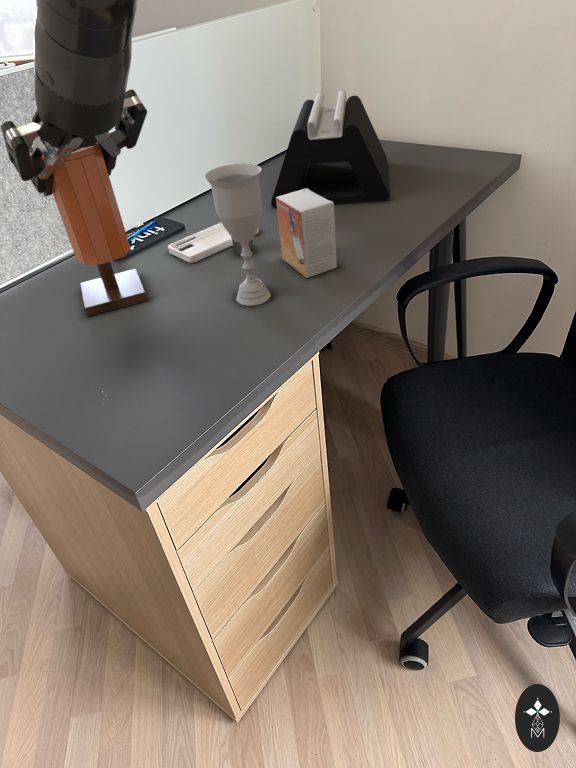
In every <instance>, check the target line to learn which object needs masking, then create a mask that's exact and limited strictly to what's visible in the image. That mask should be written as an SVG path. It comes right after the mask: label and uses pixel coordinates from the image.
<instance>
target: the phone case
mask: <svg viewBox="0 0 576 768" xmlns="http://www.w3.org/2000/svg"><path fill="white" fill-rule="evenodd" d="M259 233H260V228H259V227H258V228H257V231H256V234H255V236H256V235H257V234H259ZM193 238H194V239H193ZM187 240H188V241H187ZM181 243H182V244H181ZM190 245H191V247H189V248H186V247H188V246H190ZM229 247H232V244H231V240H230V236H229V233H228V232H227V230H226V229H225V228H224V226H223V224H222V223H221V222H219V223H216V224H214V225H212V226H210V227H207V228H205V229H203V230H200V231H198V232H195V233H193V234H191V235H188V236H186V237H183V238H181V239H180V240H177V241H175V242H172V243H170V244H168V245H167V249H168V252H169V254H170V255H172V256H175V257H177V258H179V259H180V260H183V261H185V262H187V263H190V264H194V263H197V262H199V261H201V260H203V259H205V258H208V257H211V256H212V255H214V254H217V253H219V252H221V251H223V250H225V249H227V248H229ZM183 248H186V249H184V250H182V251H181V249H183Z"/></svg>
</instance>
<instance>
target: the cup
mask: <svg viewBox="0 0 576 768" xmlns="http://www.w3.org/2000/svg"><path fill="white" fill-rule="evenodd" d="M55 149H56V150H58V149H57V148H55ZM42 159H43V160H44V162H45V157H44V155H43V156H42ZM51 175H52V176H53V178H52V197H53V200H54V202H55V204H56V207H57V210H58V212H59V213H58V214H59V215H60V218H61V221H62V223H63V226H64V230H65V232H66V234H67V238H68V240H69V242H70V245H71V248H72V251H73V254H74V256H75V259H76V262H77V263H80V264H82V265H85V266H95V265H96V266H97V265H99V264H103V263H107V262H110V263H112V262H115V261H116V260H118V259H121V258H123V257H124V256H126V255H127V254H128V252H130V250H131V246H130V242H129V237H128V236H127V232H126V229H125V224H124V222H123V219H122V218H123V217H122V215H121V212H120V211H121V210H120V208H119V205H118V201H117V199H116V198H117V197H116V195H115V191H114V189H113V185H112V181H111V179H110V176H109V175H108V171H107V168H106V164H105V161H104V158H103V154H102V151H101V148H100V145H99V142H97V143H96V145H95V146H91V147H86V148H81V149H79V150H77V151H74V152H72V153H71V154H70V156H69V157H68V159H67V160H66V162H65V163H64V164H63V166H56V168H55V169H54V171H53V172H52V174H51Z"/></svg>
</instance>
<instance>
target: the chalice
mask: <svg viewBox="0 0 576 768" xmlns="http://www.w3.org/2000/svg"><path fill="white" fill-rule="evenodd" d="M262 169H263V168H261V166H260V165H257V164H255V163H254V164H253V163H232V164H225V165H221V166H218V167H215V168H213V169H210V170H209V171H207V172H206V173H205V175H204V177H205V179H206V181H207V182H208V183H209V185H210V186H211V187H210V188H211V192H212V197H213V202H214V208H215V212H216V215H217V217H218V219H219V220H220V223H222V224H223V226H224V228H225V229H226V230H227V232H228V233H229V234H230V236H231V237H232V238H233V240H234V241H236V242H240V243H241V245H242V253H241V256H240V257H242V259H243V260H244V262H243V265H242V269H243V270H244V271H245V273H246V278H245V279H244V280H243V281H242V282H241V283H240V284H239V286H238V291H237V296H236V298H235V299H236V302H237V303H238V304H240V305H242V306H259V305H261V304H264V303H265V302H267V301H268V300H269V299H270V298H271V296H272V294H271V292H270V291H269V289H268V287H267V285H266V284H265V282H264V281H263V280H261V279H260V278H257V277H256V276H255V275H254V268H255V267H256V265H255V263H253V262H252V256H253V252H251V251H250V249H249V241H250V240H254V239H255V237H256V235H257V234H256V231H257V228H259V224H260V222H261V217H262V212H263V200H262V199H263V198H262V193H261V186H260V179H259V178H260V176H261V173H262ZM255 234H256V235H255Z"/></svg>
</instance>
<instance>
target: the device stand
mask: <svg viewBox="0 0 576 768" xmlns="http://www.w3.org/2000/svg"><path fill="white" fill-rule="evenodd" d="M324 98H325V96H324V93H323V92H317V93H316V95H315V97H314V99H307V100H305V101H304V102H303V104H302V106H301V108H300V112H299V114H298V116H297V119H296V122H295V124H294V128H293V130H292V133H291V136H290V139H289V142H288V145H287V148H286V152H285V155H284V158H283V161H282V165H281V169H280V171H279V174H278V178H277V181H276V184H275V187H274V191H273V195H272V198H271V200H270V205H271V207H272V208H274V209H277V204H276V197H278V196H281V195H285V194H288V193H292V192H295V191H299V190H302V189H306V188H308V189H309V190H310V191H312V192H314V193H316V194H318V195H319V196H321V197H323V198H325V199H327V200H330V201H332V202H333V203H334V205H341V204H342V205H343V204H360V203H361V204H362V203H374V202H386V201H388V200H389V199H390V196H391V195H390V194H391V193H390V184H389V169H388V157H387V154H386V152H385V150H384V148H383V145H382V143H381V141H380V139H379V136H378V135H377V132H376V130H375V128H374V126H373V123H372V121H371V119H370V116H369V114H368V112H367V110H366V108H365V106H364V104H363V102H362V100H361V97H359V96H358V95H355V94H354V95H351V96H349V97H348V98H347V91H346V90H344V89H342V90H339V91H338V95H337V99H336V105H328V106H323V104H324Z"/></svg>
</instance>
